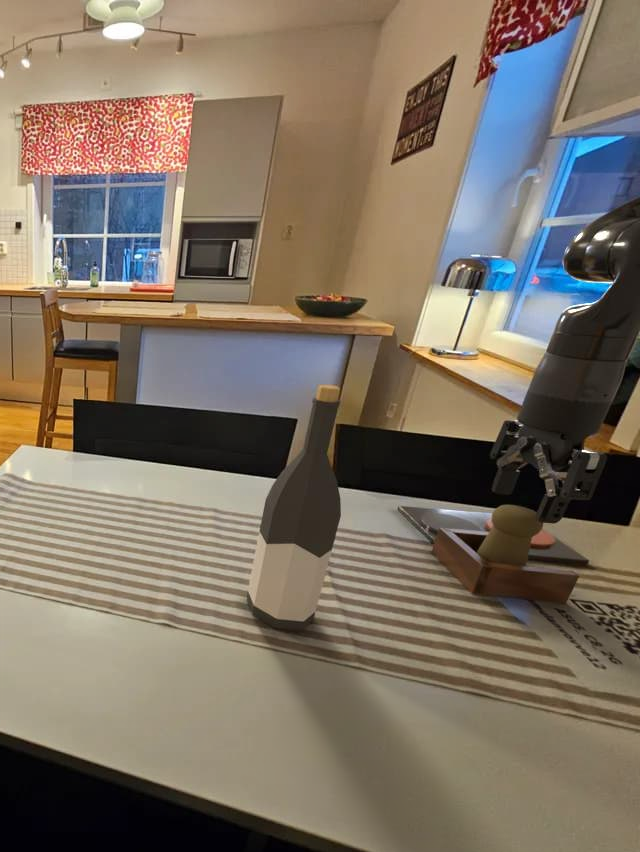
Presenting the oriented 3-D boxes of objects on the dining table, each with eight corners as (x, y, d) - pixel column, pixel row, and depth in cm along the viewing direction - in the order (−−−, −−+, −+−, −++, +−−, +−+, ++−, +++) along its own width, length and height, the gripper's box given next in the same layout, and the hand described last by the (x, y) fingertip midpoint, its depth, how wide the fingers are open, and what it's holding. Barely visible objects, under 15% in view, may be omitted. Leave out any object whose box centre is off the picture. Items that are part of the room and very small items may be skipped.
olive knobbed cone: (481, 585, 69) (509, 517, 65) (458, 561, 75) (482, 497, 71) (532, 592, 68) (563, 522, 64) (505, 567, 74) (532, 502, 70)
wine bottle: (314, 603, 66) (372, 383, 55) (311, 641, 59) (375, 400, 48) (250, 584, 69) (292, 375, 58) (240, 617, 63) (284, 389, 52)
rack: (511, 560, 75) (522, 534, 74) (566, 603, 66) (579, 575, 64) (430, 552, 77) (439, 527, 76) (471, 593, 68) (482, 566, 66)
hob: (521, 519, 87) (523, 513, 87) (587, 564, 74) (591, 557, 74) (397, 509, 90) (399, 503, 90) (439, 550, 78) (442, 543, 77)
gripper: (661, 409, 54) (598, 536, 60) (559, 380, 67) (516, 487, 73) (582, 405, 55) (528, 530, 61) (497, 377, 69) (459, 482, 74)
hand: (521, 506), depth 67 cm, fingers open, 8 cm apart
